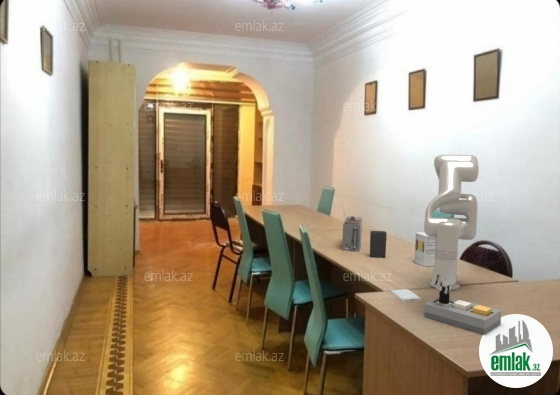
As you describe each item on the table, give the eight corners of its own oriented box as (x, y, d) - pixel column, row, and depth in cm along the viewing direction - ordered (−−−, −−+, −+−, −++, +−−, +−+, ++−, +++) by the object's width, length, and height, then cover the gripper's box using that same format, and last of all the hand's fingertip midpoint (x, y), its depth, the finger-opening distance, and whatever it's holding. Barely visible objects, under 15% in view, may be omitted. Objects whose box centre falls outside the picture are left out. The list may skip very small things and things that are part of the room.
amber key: (477, 311, 162) (478, 304, 162) (491, 315, 159) (491, 308, 159) (472, 314, 159) (472, 307, 159) (485, 318, 156) (486, 311, 156)
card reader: (385, 256, 262) (386, 230, 261) (386, 258, 259) (387, 232, 257) (369, 255, 264) (370, 230, 262) (369, 257, 260) (370, 231, 259)
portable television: (361, 244, 296) (363, 198, 293) (359, 252, 273) (361, 202, 270) (343, 243, 299) (344, 197, 296) (339, 250, 276) (341, 201, 273)
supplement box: (413, 262, 249) (414, 232, 247) (427, 261, 252) (429, 231, 250) (424, 266, 240) (425, 235, 238) (438, 265, 243) (440, 234, 241)
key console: (442, 307, 177) (442, 295, 177) (500, 324, 162) (501, 310, 161) (424, 316, 168) (424, 303, 167) (484, 334, 152) (485, 320, 151)
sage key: (440, 306, 173) (441, 299, 172) (452, 309, 169) (452, 303, 169) (434, 309, 170) (435, 302, 169) (446, 312, 166) (446, 305, 166)
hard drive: (390, 290, 196) (403, 299, 184) (408, 289, 198) (422, 297, 186) (390, 293, 197) (403, 303, 184) (408, 292, 198) (421, 301, 186)
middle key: (458, 306, 168) (459, 300, 167) (471, 309, 164) (471, 303, 164) (453, 309, 164) (453, 302, 164) (465, 312, 161) (466, 306, 161)
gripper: (446, 250, 175) (443, 296, 177) (426, 256, 165) (424, 305, 167) (465, 253, 170) (462, 301, 171) (446, 259, 159) (444, 310, 161)
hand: (443, 303), depth 169 cm, fingers closed
